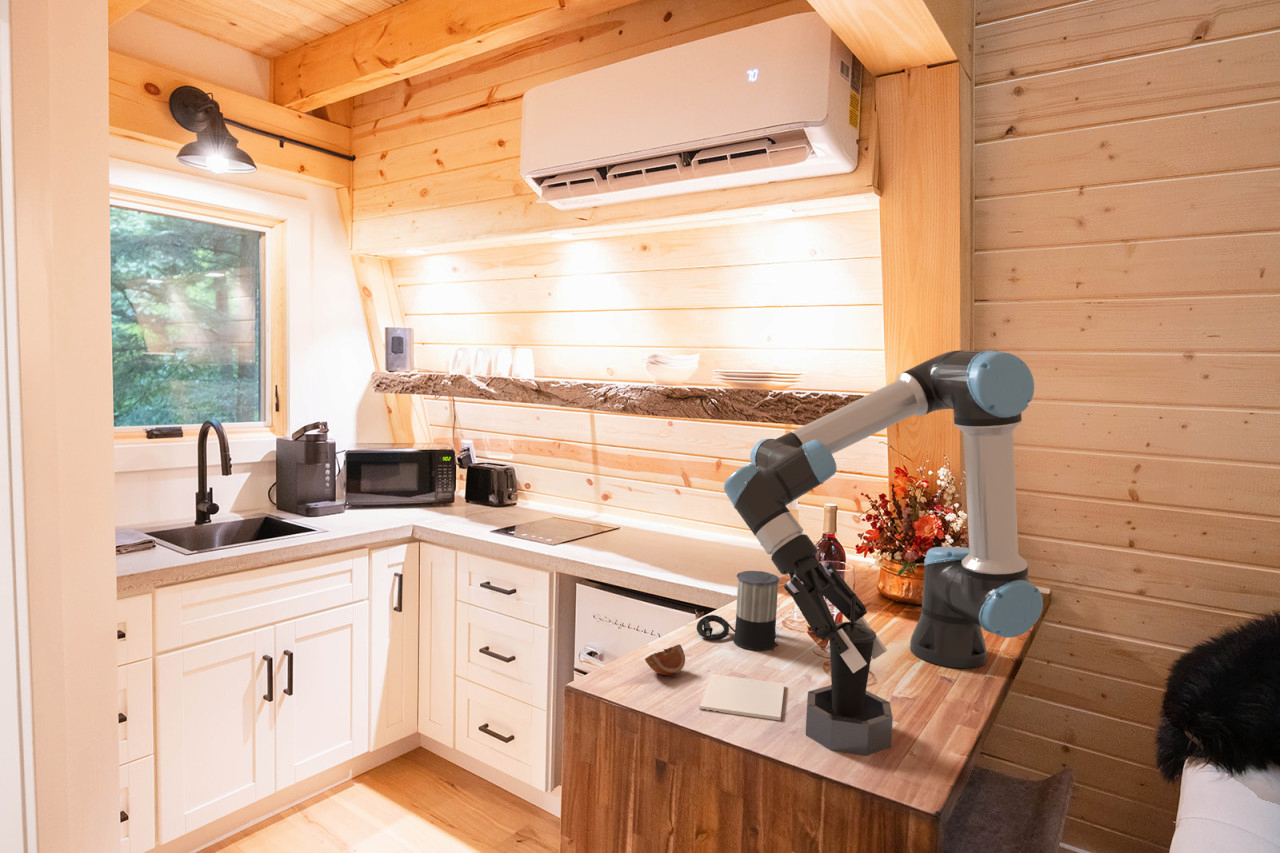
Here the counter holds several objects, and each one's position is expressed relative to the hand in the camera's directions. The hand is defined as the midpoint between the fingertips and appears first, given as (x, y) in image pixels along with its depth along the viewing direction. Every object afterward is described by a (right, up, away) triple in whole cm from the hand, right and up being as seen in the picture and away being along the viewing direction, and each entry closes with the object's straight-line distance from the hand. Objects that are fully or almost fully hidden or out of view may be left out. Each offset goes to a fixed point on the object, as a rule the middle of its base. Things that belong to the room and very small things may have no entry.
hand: (870, 661), depth 125 cm
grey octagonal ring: (-3, -13, +4) cm, 14 cm away
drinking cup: (-3, -9, +3) cm, 10 cm away
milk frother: (-16, -9, +43) cm, 47 cm away
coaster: (-19, -11, +15) cm, 27 cm away
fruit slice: (-33, -10, +25) cm, 42 cm away
